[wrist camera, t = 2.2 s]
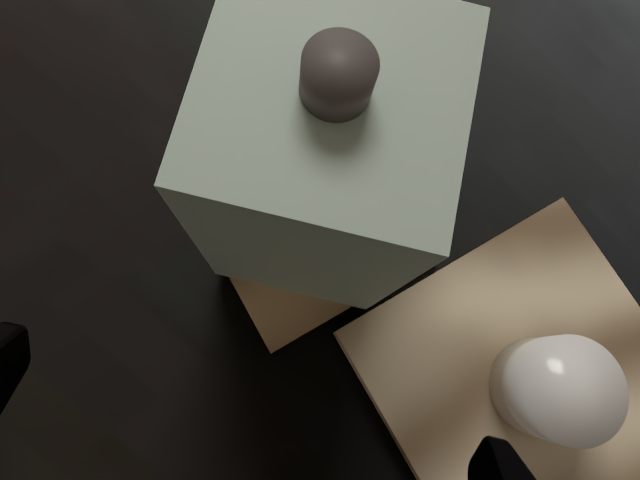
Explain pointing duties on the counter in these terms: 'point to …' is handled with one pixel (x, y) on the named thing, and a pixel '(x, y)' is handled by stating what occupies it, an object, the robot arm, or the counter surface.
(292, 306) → the cork mat
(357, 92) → the knobbed sage box
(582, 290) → the birch board
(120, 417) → the counter surface
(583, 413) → the white domed cylinder
